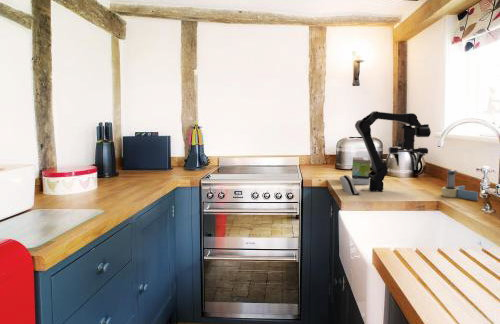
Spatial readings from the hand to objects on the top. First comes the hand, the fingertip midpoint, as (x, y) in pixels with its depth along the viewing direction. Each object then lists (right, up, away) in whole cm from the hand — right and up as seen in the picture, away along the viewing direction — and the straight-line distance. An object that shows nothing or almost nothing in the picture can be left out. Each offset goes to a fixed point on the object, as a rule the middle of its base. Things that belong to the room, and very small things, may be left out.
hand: (407, 166), depth 198 cm
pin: (+16, -15, -12) cm, 25 cm away
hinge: (-32, -14, -2) cm, 35 cm away
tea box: (-17, -10, +26) cm, 33 cm away
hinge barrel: (+19, -15, -13) cm, 27 cm away
